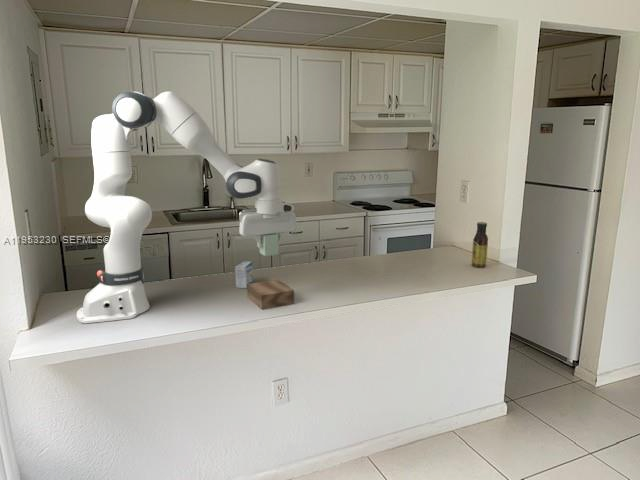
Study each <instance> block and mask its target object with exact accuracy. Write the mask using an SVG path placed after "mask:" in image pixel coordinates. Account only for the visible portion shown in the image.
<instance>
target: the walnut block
mask: <svg viewBox="0 0 640 480" xmlns="http://www.w3.org/2000/svg"><path fill="white" fill-rule="evenodd" d="M246 290H247V291H246V293H247V298H248V299H249V300H250V301H251V302H252V303H253V304H254V305H256V306H257V307H258V308H259V309H261V310H267V309H273V308H276V307H277V308H279V307H284V306H289V305H293V304H295V290H294V289H293V288H291V287H290V286H288V285H287V284H285V283H284V282H282V281H281V280H279V279H278V278H277V279H272V280H265V281H259V282H253V283H252V284H247V288H246Z"/></svg>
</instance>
